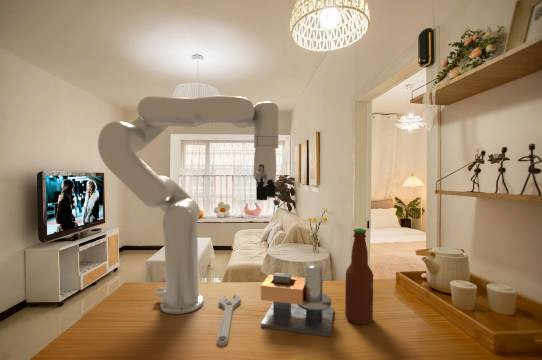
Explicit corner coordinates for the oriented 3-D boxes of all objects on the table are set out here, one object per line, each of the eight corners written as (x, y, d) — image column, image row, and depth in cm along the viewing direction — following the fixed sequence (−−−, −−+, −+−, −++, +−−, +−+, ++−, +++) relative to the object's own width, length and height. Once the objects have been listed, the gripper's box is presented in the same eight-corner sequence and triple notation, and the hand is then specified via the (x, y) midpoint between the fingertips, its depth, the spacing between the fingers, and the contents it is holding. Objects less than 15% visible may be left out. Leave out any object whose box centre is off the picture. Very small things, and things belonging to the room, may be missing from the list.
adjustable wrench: (227, 347, 70) (227, 340, 70) (200, 347, 71) (200, 340, 70) (241, 299, 95) (241, 294, 95) (222, 299, 95) (222, 294, 95)
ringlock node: (258, 326, 78) (257, 270, 78) (271, 303, 92) (271, 255, 91) (330, 337, 74) (330, 277, 73) (333, 310, 87) (334, 260, 86)
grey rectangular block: (273, 314, 83) (273, 275, 82) (275, 310, 85) (275, 272, 85) (289, 316, 82) (289, 277, 81) (291, 312, 84) (291, 274, 84)
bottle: (378, 321, 81) (379, 230, 80) (359, 328, 77) (360, 233, 76) (358, 310, 87) (359, 225, 86) (339, 316, 84) (340, 228, 83)
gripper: (262, 145, 102) (262, 195, 102) (245, 141, 85) (245, 201, 86) (284, 145, 100) (284, 196, 100) (270, 140, 83) (270, 201, 84)
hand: (266, 198), depth 93 cm, fingers open, 9 cm apart
